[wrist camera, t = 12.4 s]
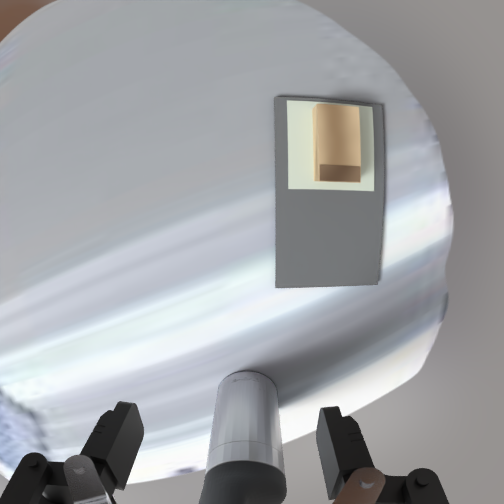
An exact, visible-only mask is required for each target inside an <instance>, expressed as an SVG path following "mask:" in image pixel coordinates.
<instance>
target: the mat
mask: <svg viewBox="0 0 504 504" xmlns="http://www.w3.org/2000/svg"><path fill="white" fill-rule="evenodd" d="M316 104H332V105H343V106H354V107H359V117H360V145H361V183H350V182H319V181H314V163H313V117H312V109H313V108H314V106H315V105H316ZM274 113H275V174H276V282H275V287H276V288H303V287H335V286H360V285H377V284H378V275H379V265H380V254H381V241H382V226H383V204H384V135H383V114H382V105H378V104H370V103H362V102H353V101H343V100H332V99H318V98H300V97H274Z"/></svg>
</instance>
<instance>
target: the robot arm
mask: <svg viewBox="0 0 504 504" xmlns="http://www.w3.org/2000/svg"><path fill="white" fill-rule="evenodd" d="M143 436H144V427H143V423H142V420H141V417H140V414H139V411H138V408H137V405H136V404H135V403H129V402H122V401H119V402H118V403H117V405H116V407H115V409H114V411H111V410H108V411H107V412H106V413H104V414H103V415H102V416H101V417H100V419H99V420H98V422H97V425H96V426H95V428H94V429H93V432H92V433H91V435H90V437H89V438H88V440H87V442H86V444H85V446H84V447H83V449H82V451H81V453H80V454H79V455H74V456H71V457H70V458H68V459H67V460H66V461H65V462H49V461H47V459H46V458H45V457H44V456H43V455H42V454H40V453H29V454H27V455H25V456H24V457H23V458H22V460H21V462H20V463H19V465H18V467H17V468H16V470H15V472H14V474H13V475H12V477H11V479H10V481H9V483H8V485H7V486H6V488H5V490H4V492H3V494H2V496H1V498H0V504H118V503H117V501H116V499H115V497H114V495H113V493H114V490H115V489H119V490H124V489H125V486H126V483H127V480H128V477H129V475H130V472H131V469H132V467H133V464H134V461H135V458H136V456H137V453H138V450H139V448H140V445H141V442H142V440H143ZM316 440H317V446H318V451H319V455H320V459H321V464H322V469H323V474H324V479H325V483H326V488H327V493H328V498H329V500H332V499H335V500H334V502H333V503H332V504H449V502H448V500H447V497H446V495H445V493H444V490H443V488H442V485H441V483H440V481H439V478H438V476H437V475H436V474H435V472H433V471H432V470H430V469H425V468H419V469H416V470H413V471H412V472H410V473H409V475H408V476H388V475H385V474H383V473H382V472H381V471H380V470H378V469H376V468H375V467H374V465H373V462H372V459H371V457H370V454H369V451H368V449H367V446H366V443H365V441H364V438H363V436H362V434H361V430H360V428H359V425H358V423H357V422H356V421H355V420H354V419H353V418H352V417H351V416H345V417H342V415H341V412H340V409H339V407H338V406H334V407H324V408H321V409H320V413H319V419H318V425H317V431H316ZM286 493H287V488H286V478H285V469H284V458H283V450H282V438H281V428H280V417H279V406H278V397H277V390H276V386H275V385H274V383H273V382H272V381H271V380H270V379H269V378H268V377H266V376H265V375H262V374H260V373H256V372H249V371H245V372H238V373H234V374H232V375H230V376H228V377H226V378H225V379H224V380H223V381H222V382H221V383H220V385H219V388H218V394H217V400H216V405H215V412H214V418H213V425H212V432H211V438H210V445H209V452H208V459H207V466H206V473H205V480H204V486H203V490H202V493H201V497H200V501H199V504H281V503H282V502H283V501H284V499H285V497H286Z"/></svg>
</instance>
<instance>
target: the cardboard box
mask: <svg viewBox="0 0 504 504" xmlns="http://www.w3.org/2000/svg"><path fill="white" fill-rule="evenodd" d="M312 117H313V163H314V181H319V182H350V183H361V145H360V117H359V107H354V106H343V105H332V104H316V105H315V106H314V108H313V109H312Z"/></svg>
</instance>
